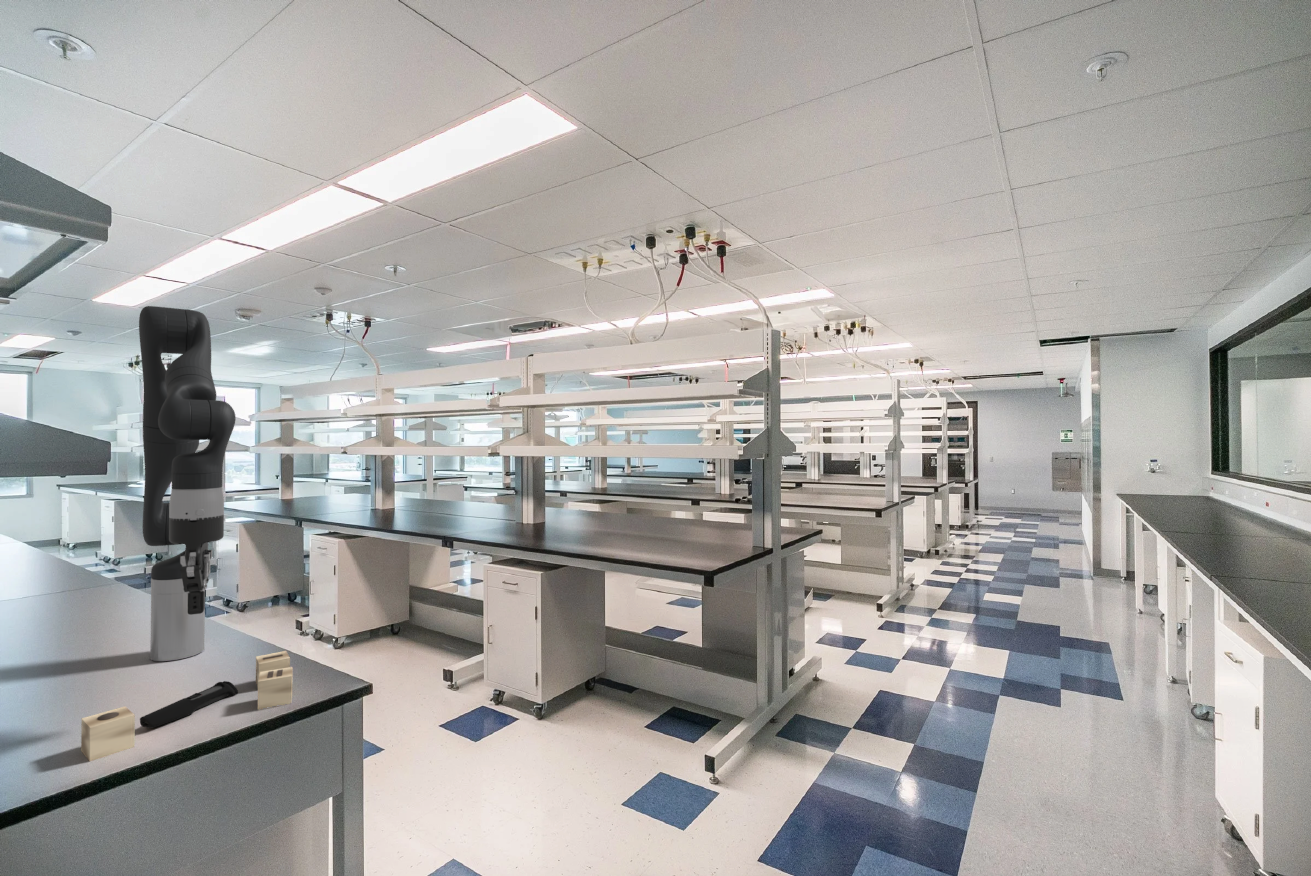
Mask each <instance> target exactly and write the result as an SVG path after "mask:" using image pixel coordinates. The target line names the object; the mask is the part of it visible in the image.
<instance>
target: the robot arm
mask: <svg viewBox="0 0 1311 876" xmlns="http://www.w3.org/2000/svg"><path fill="white" fill-rule="evenodd" d="M138 319H139V320H138V332H139V333H138V334H139V345H140V346H139V347H140V357H141V368H142V369H141V370H142V380H143V381H142V382H143V393H142V394H143V396H142V397H143V400H142V403H143V404H142V445H143V456H144V457H143V458H144V460H143V461H144V489H143V490H144V491H143V494H144V495H143V505H142V506H143V509H142V535H143V539H144V543H145V544H147V546H150V547H165V546H177V545H185V549H184V550H183V551H182V552H180V553H179V554H177V555H175V556H172V557H170V558H167V559H164V560H161V561H159V562H156V563H155V564H153V565H152V566H151V569H150V570H151V571H150V578H151V579H150V645H149V646H150V651H149V654H150V655H149V656H150V657H149V658H150V660H151V661H154V662H166V661H176V660H182V659H186V658H189V657H193V656H196V655H199V654H201V653H202V652H204V650H205V642H206V641H205V640H206V639H205V633H206V629H205V628H206V626H205V625H206V624H205V623H206V613H205V612H206V590H207V587H208V583H209V580H210V578H209V577H210V576H209V575H210V574H211V560H212V559H213V549H209V544H208V543H213V542H218V541H221V540H222V539H223V538H224V535H225V532H224V529H225V517H224V516H225V499H224V497H225V496H224V492H223V467H224V466H223V465H224V459H225V455H226V450H227V448H228V447H227V446H228V444H229V441H230V438H231V436H232V433H233V432H234V428H235V424H236V418H237V417H236V413H235V410H234V408H233V407H232V406H231V404H230V403H228V402H227V401H224V400H217V391H216V387H215V383H214V378H213V373H212V337H211V335H212V334H211V329H210V328H211V327H210V323H209V320H208V318H207V316H206V315H205V314H204V313H203V312H201V311H198V310H193V309H185V308H184V309H183V308H174V307H165V306H155V305H147V306H144V307H143V308H142V309H141V311H140V313H139V318H138ZM162 354H176V355H180V356H178V357H176V358H175V359H174V360H173V361H172V362H170V364H169V365H168V367H167V369H166V367H165V366H164V363H163V360H162ZM200 441H209V442H208V445H207V446H206V447H205V448H204V449H202V450H199V451H197V450H198V448H199V445H200ZM170 485H171V491H170V498H169V502H163V499H164V497H165V494H166V492H167V490H168V488H169V487H170Z"/></svg>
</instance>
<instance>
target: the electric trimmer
mask: <svg viewBox="0 0 1311 876" xmlns="http://www.w3.org/2000/svg"><path fill="white" fill-rule="evenodd" d="M238 693H239V690H238V688H237V687H236V685H234V683H232V682H230V681H226V680H224V681H218V682H216V683H215V684H214V685H213V686H211V687H209V688H206V689H204V690H201V691H199V692H195V693H193V694H192V695H189V696H187V697H184V698H182V699H179V700H177V701H175V702H173V703H170V704H168V705H166V706H163V707H161V708H158V709H157V710H154V711H152V712H150V713H148V714H145V715H143V716H141V717H140V718H139V722H140V725H141V727H144V728H151V729H152V728H157V727H160V726H162V725H165V724H167V723H170V722H173V721H176V720H179V719H182V718H185V717H188V716H190V715H192V714H194V713H195V711H196V710H199V709H201V708H204V707H206V706H208V705H210V704H213V703H215V702H218V701H219V700H222V699H225V698H226V697H235V696H236V694H238Z"/></svg>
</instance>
